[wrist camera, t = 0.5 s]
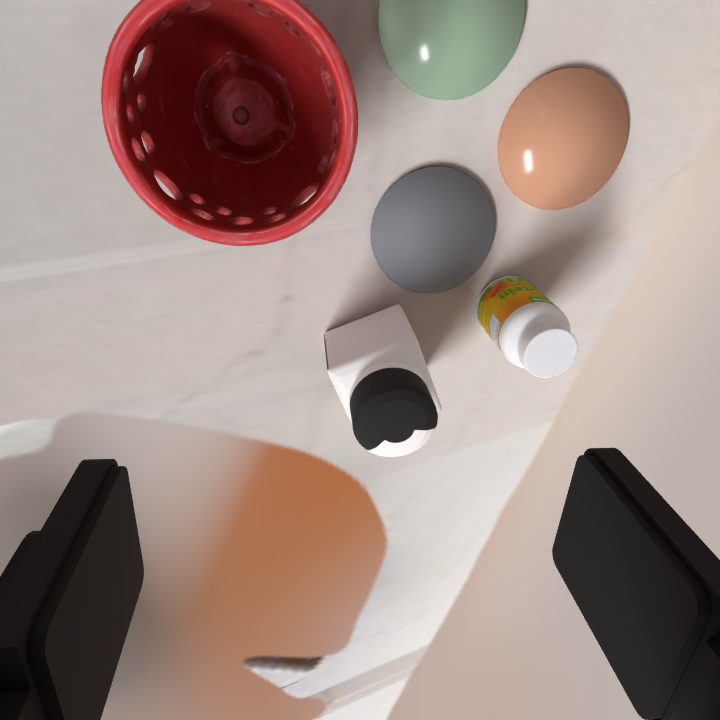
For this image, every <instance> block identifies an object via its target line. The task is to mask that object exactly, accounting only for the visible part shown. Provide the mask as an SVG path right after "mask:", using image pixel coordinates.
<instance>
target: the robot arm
mask: <svg viewBox="0 0 720 720" xmlns="http://www.w3.org/2000/svg"><path fill="white" fill-rule="evenodd" d="M552 552H553V560H554V562H555V565H556V567H557V569H558V571H559V573H560V575H561V576H562V578H563V580H564V582H565V584H566V585H567V587H568V589H569V591H570V593H571V594H572V596H573V598H574V600H575V602H576V603H577V605H578V607H579V609H580V610H581V612H582V614H583V616H584V618H585V620H586V622H587V623H588V625H589V627H590V629H591V630H592V632H593V634H594V636H595V638H596V640H597V641H598V643H599V645H600V647H601V649H602V650H603V652H604V654H605V656H606V657H607V659H608V661H609V663H610V665H611V667H612V668H613V670H614V672H615V674H616V676H617V677H618V679H619V681H620V683H621V685H622V686H623V688H624V690H625V692H626V693H627V696H628V697H629V699H630V701H631V702H632V705H633V706H634V708H635V710H636V711H637V713H638V714H639V715H640V716H641V717H642V718H643V719H646V720H647V719H648V720H720V560H719V559H718V558H717V557H716V555H715V554H714V553H713V552H712V551H711V550H710V549H709V548H708V547H707V546H706V545H705V544H704V542H703V541H702V540H701V539H700V538H699V537H698V536H697V535H696V534H695V532H694V531H693V530H692V529H691V528H690V527H689V526H688V525H687V524H686V523H685V522H684V520H683V519H682V518H681V517H680V516H679V515H678V514H677V513H676V512H675V511H674V510H673V508H672V507H671V506H670V505H669V504H668V503H667V502H666V501H665V500H664V499H663V498H662V496H661V495H660V494H659V493H658V492H657V491H656V490H655V489H654V488H653V487H652V485H651V484H650V483H649V482H648V481H647V480H646V479H645V478H644V477H643V476H642V475H641V473H640V472H639V471H638V470H637V469H636V468H635V467H634V466H633V465H632V463H631V462H630V461H629V460H628V459H627V458H626V457H625V456H624V455H623V454H622V453H621V451H619V450H618V449H616V448H590V449H587V451H585V453H584V455H581V456H579V457H578V459H577V461H576V465H575V468H574V472H573V476H572V479H571V483H570V487H569V490H568V494H567V497H566V501H565V505H564V508H563V512H562V516H561V519H560V523H559V527H558V530H557V534H556V538H555V541H554V545H553V550H552ZM143 576H144V567H143V560H142V554H141V548H140V542H139V536H138V530H137V524H136V519H135V512H134V507H133V500H132V494H131V489H130V482H129V476H128V471H127V468H126V467H124V466H118V464H117V462H116V460H114V459H91V460H83V461H82V462H81V463H80V464H79V466H78V468H77V469H76V471H75V473H74V474H73V476H72V478H71V479H70V481H69V483H68V484H67V486H66V488H65V490H64V491H63V493H62V495H61V496H60V498H59V500H58V502H57V503H56V505H55V507H54V509H53V510H52V512H51V514H50V516H49V517H48V519H47V521H46V522H45V524H44V526H43V527H42V529H41V531H32V532H30V533H29V534H27V535H26V537H25V538H24V539H23V540H22V542H21V544H20V545H19V547H18V548H17V550H16V552H15V553H14V555H13V557H12V558H11V560H10V562H9V563H8V565H7V567H6V568H5V570H4V572H3V573H2V575H1V576H0V720H100V719H101V716H102V713H103V710H104V706H105V703H106V700H107V697H108V693H109V690H110V687H111V684H112V681H113V677H114V674H115V671H116V668H117V664H118V661H119V658H120V655H121V652H122V648H123V645H124V642H125V638H126V635H127V632H128V629H129V626H130V622H131V619H132V616H133V613H134V609H135V606H136V603H137V600H138V597H139V593H140V590H141V587H142V583H143Z"/></svg>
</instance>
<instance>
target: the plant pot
mask: <svg viewBox="0 0 720 720" xmlns="http://www.w3.org/2000/svg"><path fill="white" fill-rule="evenodd" d="M145 47H146V48H145ZM144 48H145V51H144V54H143V59H142V61H141V63H140V66H139V68H138V70H137V72H136V74H135V75H134V77H133V74H134V72H135V64H136V62H137V59H138V54H139V53H140V52H141V51H142V50H143V49H144ZM333 84H334V85H333ZM101 103H102V114H103V122H104V128H105V132H106V136H107V139H108V143H109V146H110V148H111V151H112V154H113V156H114V159H115V161H116V163H117V165H118V167H119V169H120V170H121V172H122V173H123V175H124V177H125V179H126V180H127V182H128V183H129V185H130V186H131V187H132V189H133V190H134V191H135V192H136V194H137V195H138V196H139V197H140V198H141V199H142V201H143V202H144V203H145V204H146V205H147V206H148V207H149V208H150V209H152V210H153V211H154V212H155V213H156V214H157V215H159V216H160V217H161V218H162V219H164V220H165V221H167V222H168V223H170V224H171V225H173V226H175V227H176V228H178V229H180V230H182V231H184V232H186V233H188V234H190V235H193V236H195V237H197V238H201V239H203V240H207V241H210V242H214V243H219V244H224V245H233V246H254V245H263V244H267V243H272V242H276V241H279V240H283V239H285V238H287V237H289V236H292V235H294V234H295V233H297V232H299V231H301V230H303V229H304V228H306V227H307V226H308V225H310V224H311V223H313V222H314V221H315V220H316V219H317V218H318V217H320V216H321V215H322V214H323V213H324V212H325V210H326V209H327V208H328V207H329V206H330V205H331V203H332V202H333V201H334V200H335V198H336V197H337V195H338V193H339V192H340V190H341V188H342V186H343V184H344V183H345V181H346V178H347V176H348V173H349V171H350V168H351V164H352V161H353V157H354V153H355V149H356V144H357V136H358V111H357V102H356V97H355V91H354V87H353V82H352V79H351V76H350V73H349V70H348V67H347V65H346V62H345V60H344V58H343V56H342V54H341V52H340V50H339V48H338V46H337V44H336V42H335V40H334V39H333V37H332V36H331V34H330V33H329V32H328V30H327V29H326V28H325V26H324V25H323V24H322V23H321V22H320V20H319V19H318V18H317V17H316V16H315V15H314V14H313V13H312V12H311V11H310V10H309V9H308V8H307V7H305V6H304V5H303V4H302V3H301V2H300V1H298V0H141V1H140V2H139V3H138V4H137V5H136V6H135V7H134V8H133V9H132V10H131V11H130V12H129V13H128V14H127V16H126V17H125V18H124V19H123V21H122V23H121V24H120V26H119V27H118V29H117V31H116V33H115V35H114V37H113V39H112V42H111V44H110V46H109V49H108V53H107V56H106V59H105V65H104V70H103V78H102V88H101ZM141 137H142V138H141ZM142 139H143V141H144V142H145V145H146V148H147V151H146V149H145V147H144V145H143V142H142ZM147 152H148V153H147ZM154 175H155V176H156V177H157V178H158V179H159V180H160V181H161V182H162V183H163V184H164V185H165V186H166V187H167V188H168V189H169V191H170V192H171V193H172V194H173V196H174V198H175V199H173V198H171V197H170V196H169V195H167V194H166V193H165V192H164V191H163V190H162V188H161V187H160V186H159V184H158V182H157V180H156V178H155V176H154ZM314 192H316V193H315V194H314V195H313V196H312V197H311V198H310V199H309V200H308V201H307V202H305V203H303V204H302V205H300V204H301V203H302V202H303V201H304V200H306V199H307V198H308V197H309V196H310V195H312V194H313V193H314Z"/></svg>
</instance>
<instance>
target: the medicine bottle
mask: <svg viewBox="0 0 720 720" xmlns="http://www.w3.org/2000/svg"><path fill="white" fill-rule="evenodd" d="M324 342H325V351H326V360H327V370H328V374H329V376H330V378H331V381H332V383H333V385H334V387H335V389H336V391H337V393H338V396H339V398H340V400H341V402H342V404H343V406H344V408H345V410H346V413H347V415H348V417H349V419H350V421H351V423H352V426H353V431H354V435H355V437H356V439H357V440H358V442H359V443H360V444H361V445H362V446H363V447H364V448H365V449H366V450H368V451H370V452H371V453H374V454H376V455H380V456H386V457H396V456H403V455H406V454H409V453H412V452H414V451H416V450H417V449H419V448H420V447H422V446H423V445H424V444H425V443H426V442H427V441H428V440H429V439H430V438H431V436H432V435H433V433H434V431H435V429H436V426H437V420H438V414H437V412H439V411H440V410H441V404H440V401H439V398H438V396H437V393H436V390H435V387H434V384H433V382H432V379H431V376H430V373H429V371H428V368H427V365H426V362H425V359H424V357H423V354H422V351H421V348H420V346H419V343H418V340H417V338H416V335H415V333H414V331H413V329H412V327H411V325H410V323H409V321H408V318H407V316H406V314H405V312H404V310H403V308H402V306H401V305H399V304H397V305H394V306H391V307H389V308H386V309H384V310H381V311H379V312H376V313H373V314H371V315H368V316H366V317H363V318H361V319H358V320H355V321H353V322H350V323H348V324H345V325H343V326H340V327H337V328H335V329H332V330H330V331H327V332H326V333H325V334H324Z"/></svg>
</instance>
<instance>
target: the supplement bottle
mask: <svg viewBox="0 0 720 720" xmlns="http://www.w3.org/2000/svg"><path fill="white" fill-rule="evenodd" d="M476 313H477V317H478V320H479V322H480V324H481V325H482V327H483V328H484V329H485V331H486V332H487V333H488V335H489V336H490V337H491V339H492V340H493V341H494V343H495V344H496V345H497V347H498V348H499V349H500V351H501V352H502V353H503V355H504V356H505V357H506V358H507V359H508V360H509V361H510V362H511V363H512V364H514V365H516V366H518V367H521V368H526V369H527V370H528V371H529V372H530V373H531V374H533V375H535V376H537V377H541V378H550V377H554V376H557V375H559V374H561V373H563V372H564V371H566V370H567V369H568V368H569V367H570V366H571V365H572V364H573V362H574V360H575V358H576V356H577V352H578V344H577V341H576V338H575V337H574V335H573V334H572V333H571V332H570V325H569V322H568V319H567V317H566V316H565V314H564V313H563V312H562V311H561V310H560V309H559V308H558V307H557V306H556V305H554V304H553V303H552V302H551V301H550V300H549V299H547V298H546V297H545V296H544V295H543V294H542V293H541V292H539V291H538V290H537V289H536V288H535V287H534V286H533V285H532V284H530V283H529V282H528V281H526V280H525V279H523V278H520V277H516V276H506V277H501V278H499V279H496V280H494V281H493V282H491V283H490V284H489V285H487V286H486V287H485V289H484V290H483V291H482V293H481V294H480V296H479V298H478V301H477V307H476Z"/></svg>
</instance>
